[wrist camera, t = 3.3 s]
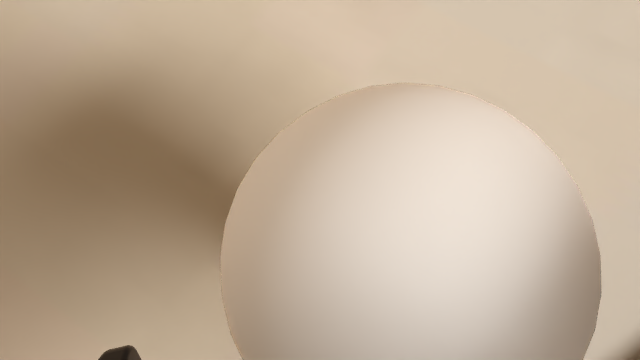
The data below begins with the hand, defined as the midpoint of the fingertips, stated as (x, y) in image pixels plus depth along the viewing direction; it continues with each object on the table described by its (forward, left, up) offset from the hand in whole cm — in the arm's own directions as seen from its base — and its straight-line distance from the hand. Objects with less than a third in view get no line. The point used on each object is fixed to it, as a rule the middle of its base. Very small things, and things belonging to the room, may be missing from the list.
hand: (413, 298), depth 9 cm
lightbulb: (0, +1, -9) cm, 9 cm away
